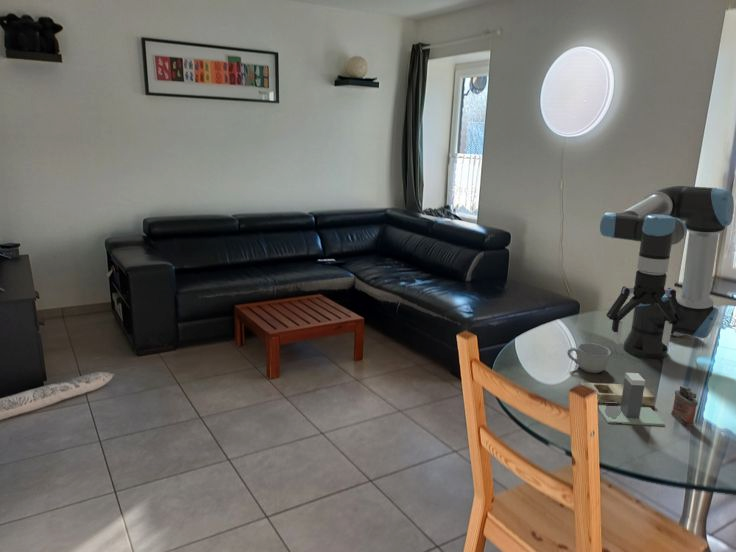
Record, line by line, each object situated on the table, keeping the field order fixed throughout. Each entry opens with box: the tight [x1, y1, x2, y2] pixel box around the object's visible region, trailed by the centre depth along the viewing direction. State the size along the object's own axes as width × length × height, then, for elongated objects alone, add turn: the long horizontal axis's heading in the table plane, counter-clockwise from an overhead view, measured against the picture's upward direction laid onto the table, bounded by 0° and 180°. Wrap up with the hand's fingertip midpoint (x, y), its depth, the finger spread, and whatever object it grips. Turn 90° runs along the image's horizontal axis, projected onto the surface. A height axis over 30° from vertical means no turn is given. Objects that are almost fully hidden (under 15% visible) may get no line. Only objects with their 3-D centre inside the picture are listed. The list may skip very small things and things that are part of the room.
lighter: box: [670, 384, 699, 428], centre depth 159 cm, size 8×3×10 cm, turn 5°
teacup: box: [567, 342, 611, 374], centre depth 193 cm, size 14×11×8 cm
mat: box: [598, 404, 666, 427], centre depth 162 cm, size 16×10×1 cm, turn 86°
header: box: [579, 382, 656, 407], centre depth 173 cm, size 20×8×3 cm, turn 86°
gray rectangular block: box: [619, 372, 646, 418], centre depth 161 cm, size 4×5×12 cm
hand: (640, 343), depth 157 cm, fingers open, 13 cm apart
